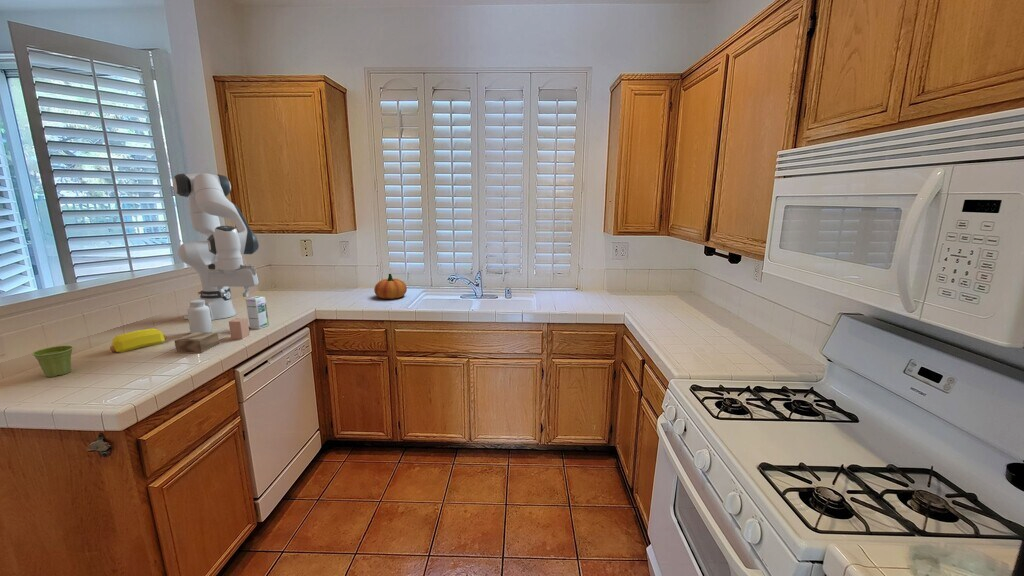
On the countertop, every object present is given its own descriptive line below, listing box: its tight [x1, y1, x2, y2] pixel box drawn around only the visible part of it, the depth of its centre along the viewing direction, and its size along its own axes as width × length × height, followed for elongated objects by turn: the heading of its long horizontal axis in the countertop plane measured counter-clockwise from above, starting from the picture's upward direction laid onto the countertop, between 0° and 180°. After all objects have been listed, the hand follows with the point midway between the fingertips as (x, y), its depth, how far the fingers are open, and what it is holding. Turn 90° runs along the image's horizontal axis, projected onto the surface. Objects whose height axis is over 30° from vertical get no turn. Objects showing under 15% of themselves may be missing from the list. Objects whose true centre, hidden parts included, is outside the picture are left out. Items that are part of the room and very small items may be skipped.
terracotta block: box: [228, 317, 251, 340], centre depth 180 cm, size 5×5×8 cm
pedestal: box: [174, 332, 220, 354], centre depth 166 cm, size 10×10×5 cm
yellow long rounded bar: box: [109, 327, 167, 353], centre depth 168 cm, size 18×7×8 cm
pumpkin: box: [373, 273, 408, 300], centre depth 256 cm, size 19×19×15 cm
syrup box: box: [245, 295, 270, 330], centre depth 194 cm, size 6×6×14 cm
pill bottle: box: [186, 299, 213, 334], centre depth 184 cm, size 8×8×15 cm
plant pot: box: [31, 345, 74, 378], centre depth 141 cm, size 9×9×9 cm
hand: (235, 296), depth 177 cm, fingers open, 8 cm apart
